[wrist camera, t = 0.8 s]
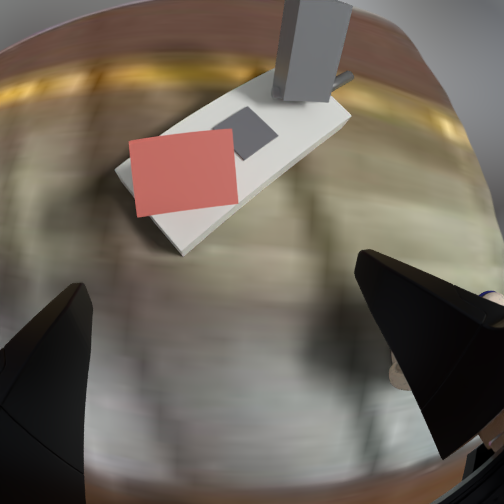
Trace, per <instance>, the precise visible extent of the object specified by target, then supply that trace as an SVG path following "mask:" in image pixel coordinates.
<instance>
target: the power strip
mask: <svg viewBox="0 0 504 504" xmlns="http://www.w3.org/2000/svg"><path fill="white" fill-rule="evenodd" d="M274 72H275V68H274V69H272V70H270V71H268V72H266V73H264V74H262V75H260V76H258V77H256V78H254V79H252V80H250V81H248V82H246V83H244V84H243V85H241V86H239V87H237V88H235V89H233V90H232V91H230V92H228V93H226V94H225V95H223V96H221V97H219V98H218V99H216V100H214V101H212V102H211V103H209V104H207V105H206V106H204V107H203V108H201V109H199V110H198V111H196V112H194V113H193V114H191V115H190V116H188V117H187V118H185V119H184V120H182V121H180V122H179V123H177V124H176V125H174V126H173V127H171V128H170V129H169V130H167V131H166V132H164V133H163V134H161V135H160V136H164V135H171V134H179V133H187V132H197V131H207V130H218V129H232V132H233V144H234V156H235V168H236V180H237V192H238V203H239V204H233V205H225V206H216V207H208V208H201V209H193V210H186V211H178V212H171V213H164V214H157V215H151V216H149V217H150V218H151V219H152V220H153V222H154V223H155V224H156V225H157V226H158V228H159V229H160V230H161V231H162V232H163V234H164V235H165V236H166V237H167V238H168V240H169V241H170V242H171V243H172V244H173V245H174V247H175V248H176V249H177V250H178V251H179V252H180V254H181V255H182V256H183V257H184V256H185V255H186V254H187V253H188V252H189V251H191V250H192V249H193V248H194V247H195V246H196V245H197V244H199V243H200V242H201V241H202V240H203V239H204V238H206V237H207V236H208V235H209V234H210V233H211V232H213V231H214V230H215V229H216V228H217V227H219V226H220V225H221V224H222V223H223V222H224V221H226V220H227V219H228V218H229V217H230V216H232V215H233V214H234V213H235V212H236V211H238V210H239V209H240V208H241V207H242V206H244V205H245V204H246V203H247V202H249V201H250V200H251V199H252V198H253V197H255V196H256V195H257V194H258V193H260V192H261V191H262V190H263V189H264V188H266V187H267V186H268V185H269V184H271V183H272V182H273V181H274V180H276V179H277V178H278V177H279V176H281V175H282V174H283V173H284V172H286V171H287V170H288V169H289V168H291V167H292V166H293V165H294V164H296V163H297V162H298V161H300V160H301V159H302V158H303V157H305V156H306V155H307V154H309V153H310V152H311V151H312V150H314V149H315V148H316V147H318V146H319V145H320V144H321V143H323V142H324V141H325V140H327V139H328V138H329V137H331V136H332V135H333V134H335V133H336V132H337V131H339V130H340V129H341V128H342V127H343V125H344V124H345V123H346V122H347V121H348V120H349V118H350V117H351V115H350V114H349V113H348V112H347V111H346V110H345V109H344V108H343V107H342V106H341V105H340V104H339V103H338V102H337V101H336V100H335V99H334V98H333V97H332V96H330V99H329V103H325V102H305V101H283V100H282V99H273V98H272V96H271V89H272V87H273V79H274ZM353 79H354V75H353V74H352V72H350V71H346V72H344V73H342V74H340V75H338V76H336V77H335V80H334V84H333V88H332V92H333V91H334V90H336V89H338V88H339V87H341V86H343V85H345V84H346V83H348V82H350V81H352V80H353ZM115 172H116V173H117V175H118V177H119V178H120V180H121V182H122V183H123V184H124V186H125V187H126V188H127V190H128V191H129V192H130V193H131V195H132V196H133V197H134V198H135V196H134V188H133V180H132V170H131V160H130V158H129V159H127V160H126V161H125V162H123V163H122V164H121V165H120V166H118V167H117V168H116V169H115Z"/></svg>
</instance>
